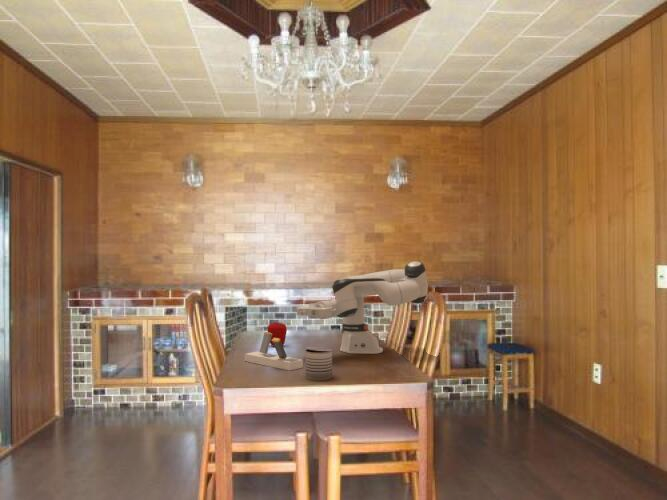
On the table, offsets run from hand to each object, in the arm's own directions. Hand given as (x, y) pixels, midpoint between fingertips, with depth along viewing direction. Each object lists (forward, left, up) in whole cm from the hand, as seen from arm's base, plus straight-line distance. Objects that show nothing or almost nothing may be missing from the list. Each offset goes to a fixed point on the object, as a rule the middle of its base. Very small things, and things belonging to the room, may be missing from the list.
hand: (302, 313), depth 246 cm
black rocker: (+6, +10, -19) cm, 23 cm away
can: (-14, +26, -23) cm, 37 cm away
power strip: (+12, +7, -23) cm, 27 cm away
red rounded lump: (+25, -38, -23) cm, 50 cm away
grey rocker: (+18, +4, -19) cm, 27 cm away
